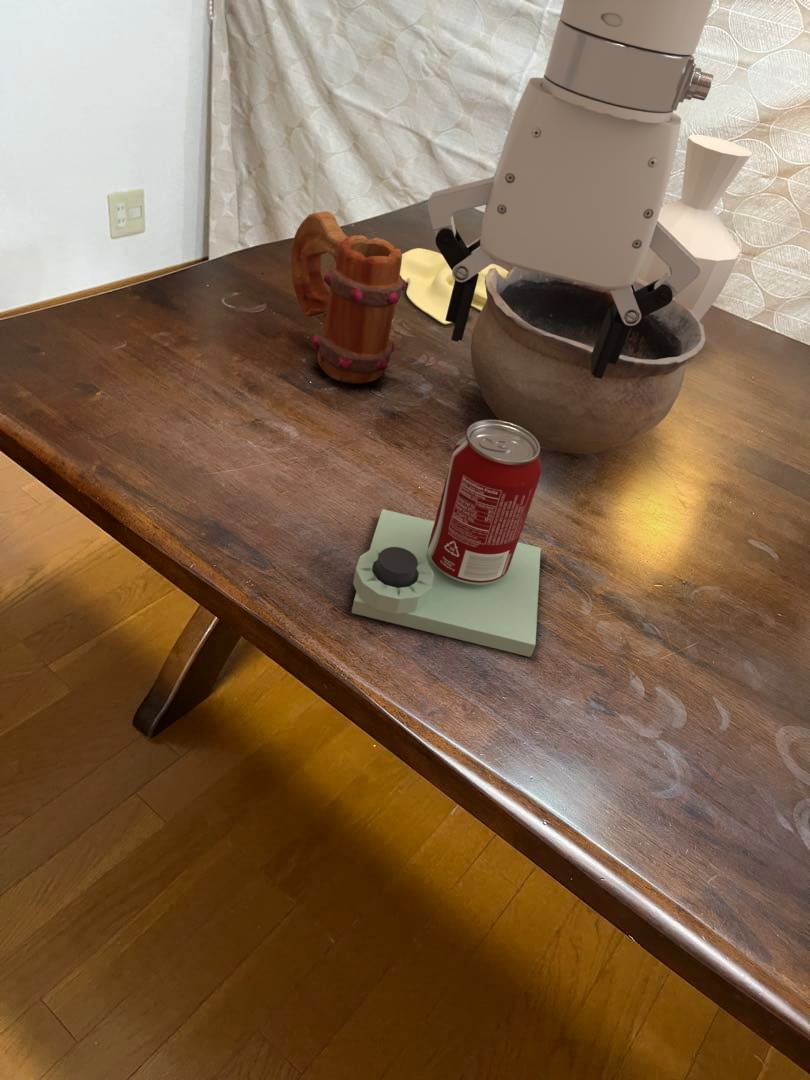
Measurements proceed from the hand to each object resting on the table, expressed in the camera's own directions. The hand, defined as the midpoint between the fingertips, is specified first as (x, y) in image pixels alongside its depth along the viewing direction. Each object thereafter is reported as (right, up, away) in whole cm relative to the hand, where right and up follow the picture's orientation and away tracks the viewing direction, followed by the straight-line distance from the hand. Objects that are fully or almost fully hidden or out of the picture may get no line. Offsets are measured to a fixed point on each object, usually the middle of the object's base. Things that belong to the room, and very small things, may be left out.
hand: (526, 351), depth 58 cm
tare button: (-9, -15, +7) cm, 19 cm away
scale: (-5, -16, +12) cm, 21 cm away
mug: (-16, +7, +37) cm, 41 cm away
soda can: (-3, -15, +12) cm, 19 cm away
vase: (+24, +14, +58) cm, 64 cm away
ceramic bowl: (+8, -1, +34) cm, 35 cm away
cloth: (-1, +21, +59) cm, 63 cm away
